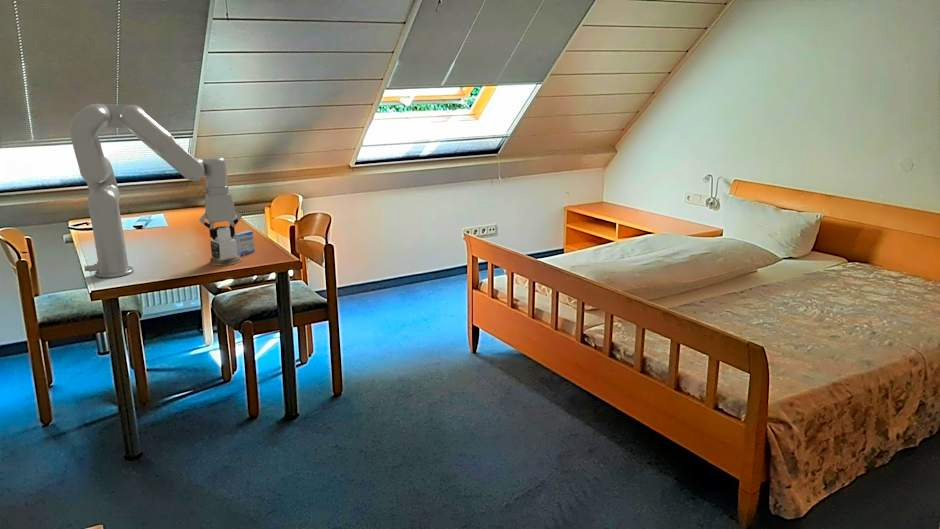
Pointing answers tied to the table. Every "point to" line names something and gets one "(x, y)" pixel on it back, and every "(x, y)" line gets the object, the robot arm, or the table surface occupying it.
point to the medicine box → (244, 242)
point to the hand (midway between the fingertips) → (222, 237)
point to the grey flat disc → (225, 261)
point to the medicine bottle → (223, 244)
